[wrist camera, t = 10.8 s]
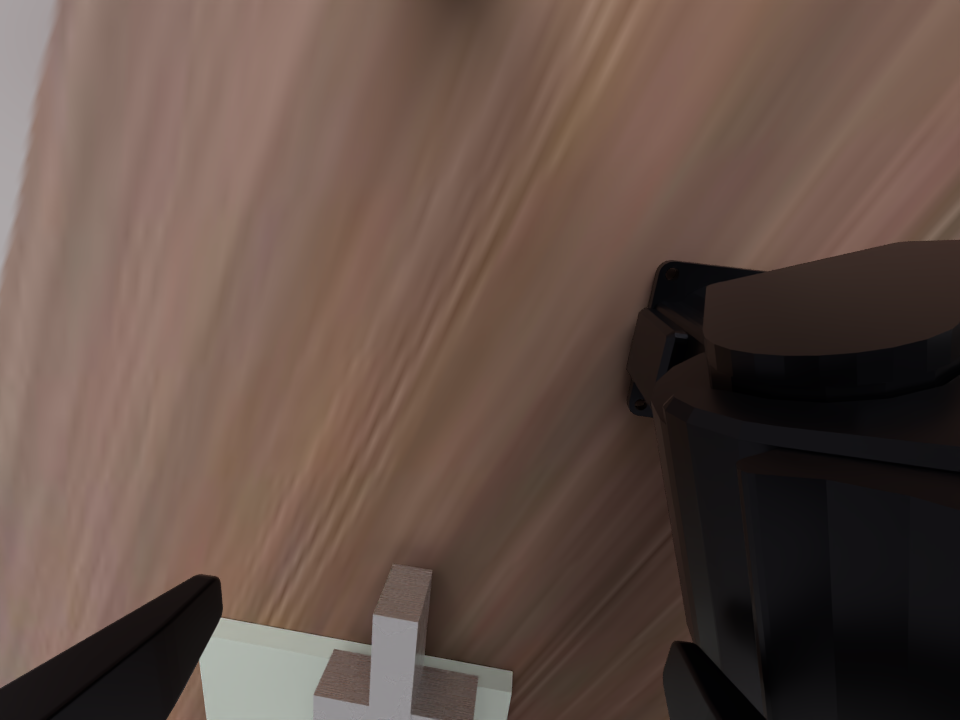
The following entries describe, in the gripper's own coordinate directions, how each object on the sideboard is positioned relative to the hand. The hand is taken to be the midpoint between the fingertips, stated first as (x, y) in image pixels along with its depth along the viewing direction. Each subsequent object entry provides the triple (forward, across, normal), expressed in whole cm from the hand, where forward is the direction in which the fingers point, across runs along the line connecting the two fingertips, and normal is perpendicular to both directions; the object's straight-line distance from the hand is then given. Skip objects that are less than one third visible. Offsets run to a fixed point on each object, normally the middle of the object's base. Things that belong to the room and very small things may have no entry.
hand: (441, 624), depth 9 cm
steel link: (+11, +2, +16) cm, 20 cm away
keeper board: (+13, +5, +22) cm, 26 cm away
